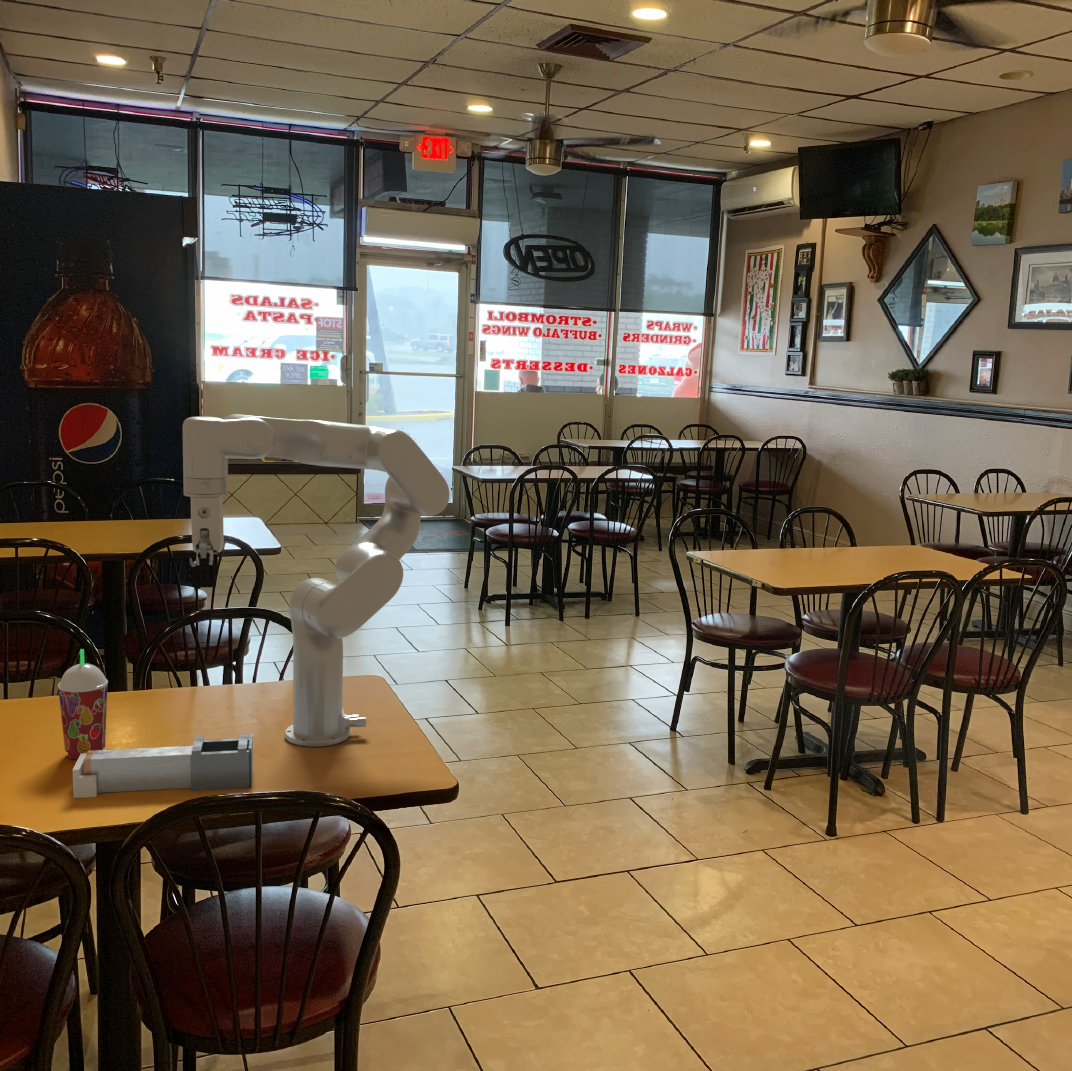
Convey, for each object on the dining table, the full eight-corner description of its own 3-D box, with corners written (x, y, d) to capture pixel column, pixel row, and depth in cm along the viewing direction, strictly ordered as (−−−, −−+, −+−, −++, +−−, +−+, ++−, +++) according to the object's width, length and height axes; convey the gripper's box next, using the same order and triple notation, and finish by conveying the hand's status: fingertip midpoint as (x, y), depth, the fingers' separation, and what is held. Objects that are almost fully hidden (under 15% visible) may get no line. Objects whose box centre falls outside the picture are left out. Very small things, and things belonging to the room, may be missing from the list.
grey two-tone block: (196, 778, 179) (196, 745, 178) (194, 787, 176) (194, 754, 175) (89, 783, 175) (88, 750, 174) (85, 793, 171) (84, 759, 170)
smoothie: (116, 746, 192) (114, 644, 189) (99, 763, 184) (96, 656, 181) (71, 745, 192) (68, 642, 189) (52, 762, 184) (48, 655, 180)
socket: (103, 779, 177) (102, 752, 176) (96, 796, 170) (95, 768, 170) (81, 780, 176) (80, 753, 176) (73, 798, 170) (72, 769, 169)
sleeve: (252, 772, 183) (252, 733, 182) (251, 787, 177) (251, 747, 175) (194, 775, 181) (193, 736, 180) (190, 791, 174) (190, 750, 173)
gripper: (225, 493, 174) (226, 591, 177) (230, 481, 190) (230, 571, 193) (178, 493, 172) (180, 592, 175) (187, 480, 188) (189, 571, 191)
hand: (207, 581), depth 184 cm, fingers open, 9 cm apart
